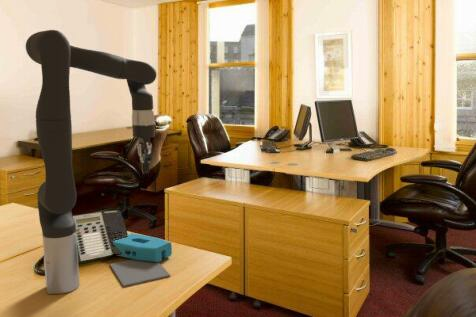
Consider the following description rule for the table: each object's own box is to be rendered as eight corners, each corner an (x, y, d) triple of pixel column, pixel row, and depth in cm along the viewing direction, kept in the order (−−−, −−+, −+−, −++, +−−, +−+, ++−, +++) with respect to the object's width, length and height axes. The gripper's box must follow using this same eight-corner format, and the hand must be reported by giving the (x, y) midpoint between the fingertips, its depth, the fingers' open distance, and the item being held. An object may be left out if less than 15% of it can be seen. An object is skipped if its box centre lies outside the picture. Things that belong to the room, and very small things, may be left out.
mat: (123, 287, 129) (123, 285, 128) (110, 265, 144) (110, 263, 144) (170, 276, 136) (170, 274, 136) (152, 257, 151) (152, 255, 151)
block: (151, 250, 142) (109, 241, 152) (152, 264, 142) (110, 254, 153) (174, 240, 152) (133, 232, 162) (174, 253, 153) (134, 245, 163)
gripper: (127, 122, 148) (130, 170, 151) (137, 125, 136) (140, 177, 139) (148, 121, 151) (150, 168, 154) (160, 124, 140) (162, 175, 143)
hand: (145, 173), depth 147 cm, fingers closed
